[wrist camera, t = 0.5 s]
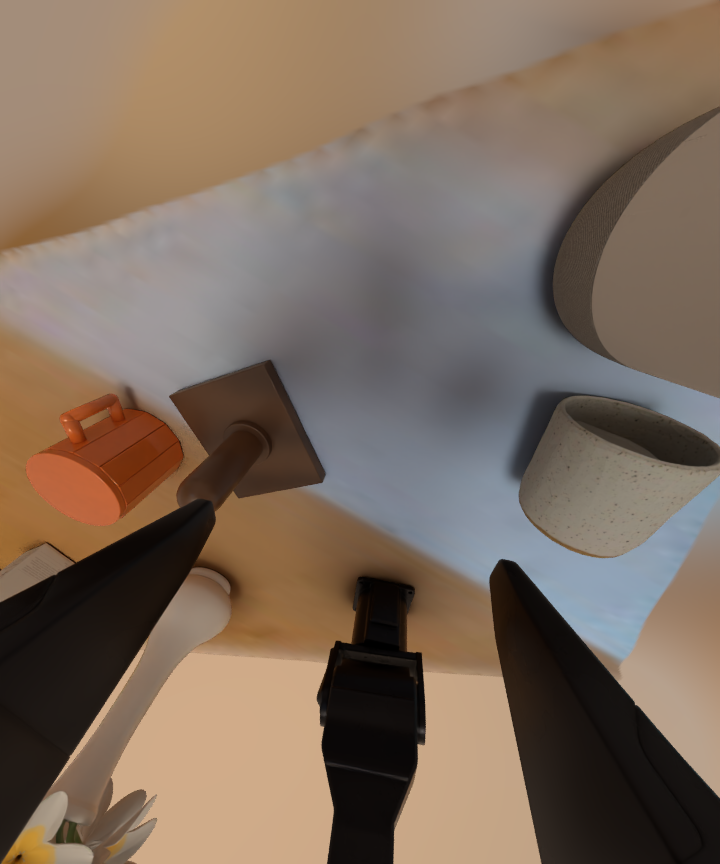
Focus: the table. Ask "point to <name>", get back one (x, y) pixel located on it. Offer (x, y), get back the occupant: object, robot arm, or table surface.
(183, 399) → the cup stand
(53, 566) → the product box
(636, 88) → the table surface
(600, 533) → the ceramic mug
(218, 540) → the table surface
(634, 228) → the smart speaker
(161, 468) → the orange cup
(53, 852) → the flower vase
